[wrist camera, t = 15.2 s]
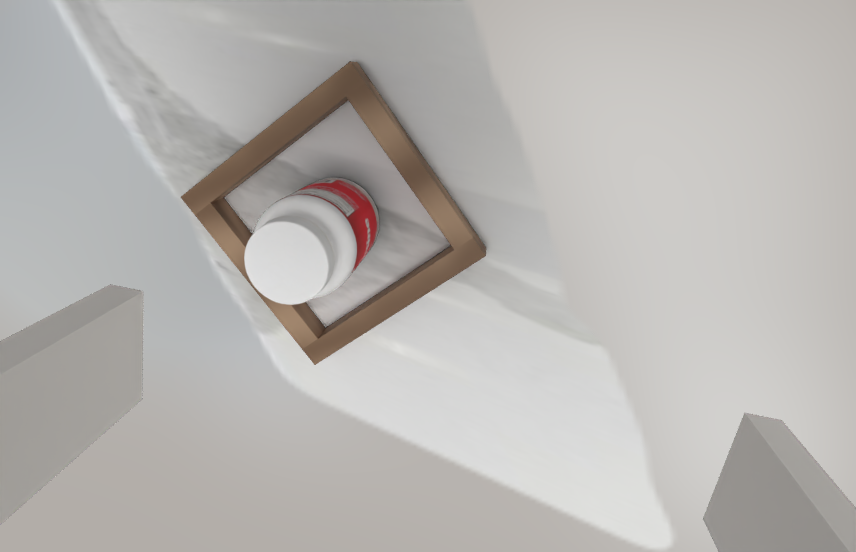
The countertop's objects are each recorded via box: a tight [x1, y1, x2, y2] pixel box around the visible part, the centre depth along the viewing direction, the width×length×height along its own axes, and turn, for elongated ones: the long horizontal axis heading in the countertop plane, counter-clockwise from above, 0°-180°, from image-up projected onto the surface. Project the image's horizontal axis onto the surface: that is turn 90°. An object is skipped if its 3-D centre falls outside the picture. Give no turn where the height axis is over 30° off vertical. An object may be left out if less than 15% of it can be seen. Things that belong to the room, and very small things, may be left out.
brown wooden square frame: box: [181, 61, 486, 365], centre depth 41 cm, size 15×15×2 cm
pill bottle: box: [244, 178, 379, 305], centre depth 37 cm, size 6×6×11 cm
